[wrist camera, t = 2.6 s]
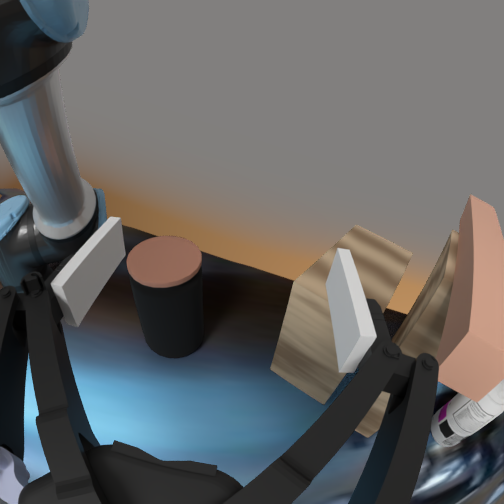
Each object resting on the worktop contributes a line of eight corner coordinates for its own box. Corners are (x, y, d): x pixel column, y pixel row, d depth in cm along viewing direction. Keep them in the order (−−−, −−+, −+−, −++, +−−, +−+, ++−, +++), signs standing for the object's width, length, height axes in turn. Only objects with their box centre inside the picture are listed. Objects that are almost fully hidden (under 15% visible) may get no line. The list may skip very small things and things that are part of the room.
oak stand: (368, 437, 35) (495, 307, 18) (266, 372, 45) (306, 208, 27) (409, 354, 49) (486, 226, 32) (327, 306, 59) (371, 170, 41)
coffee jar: (208, 318, 54) (207, 238, 43) (199, 365, 45) (194, 287, 34) (154, 311, 53) (141, 232, 43) (139, 355, 45) (114, 277, 34)
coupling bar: (477, 402, 11) (519, 362, 9) (429, 376, 13) (468, 331, 11) (483, 233, 29) (494, 207, 27) (459, 220, 31) (470, 194, 29)
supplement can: (425, 411, 38) (476, 364, 30) (457, 408, 38) (507, 363, 29) (430, 450, 32) (488, 411, 23) (463, 445, 31) (520, 404, 22)
